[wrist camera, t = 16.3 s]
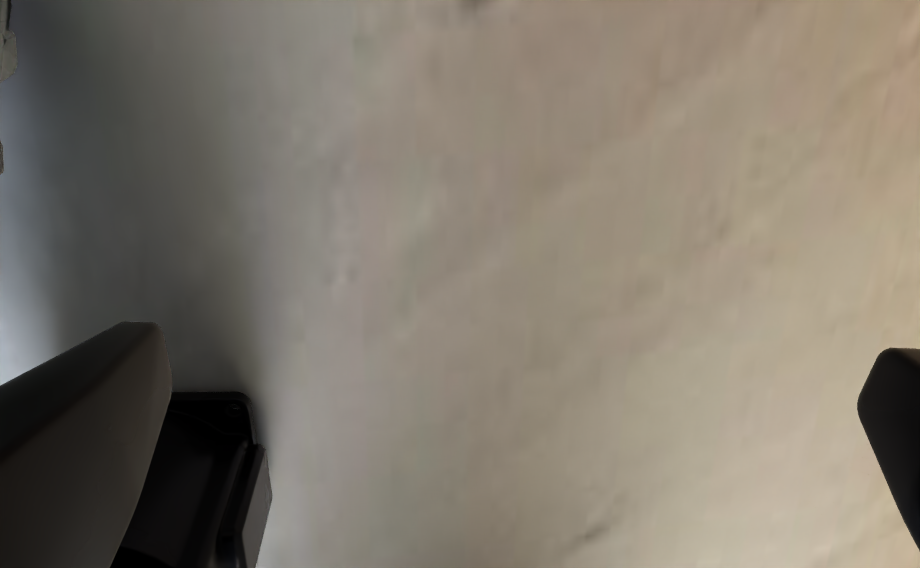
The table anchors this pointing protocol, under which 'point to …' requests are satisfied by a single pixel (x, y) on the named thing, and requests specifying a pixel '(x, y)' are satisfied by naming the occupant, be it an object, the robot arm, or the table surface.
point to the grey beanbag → (6, 53)
